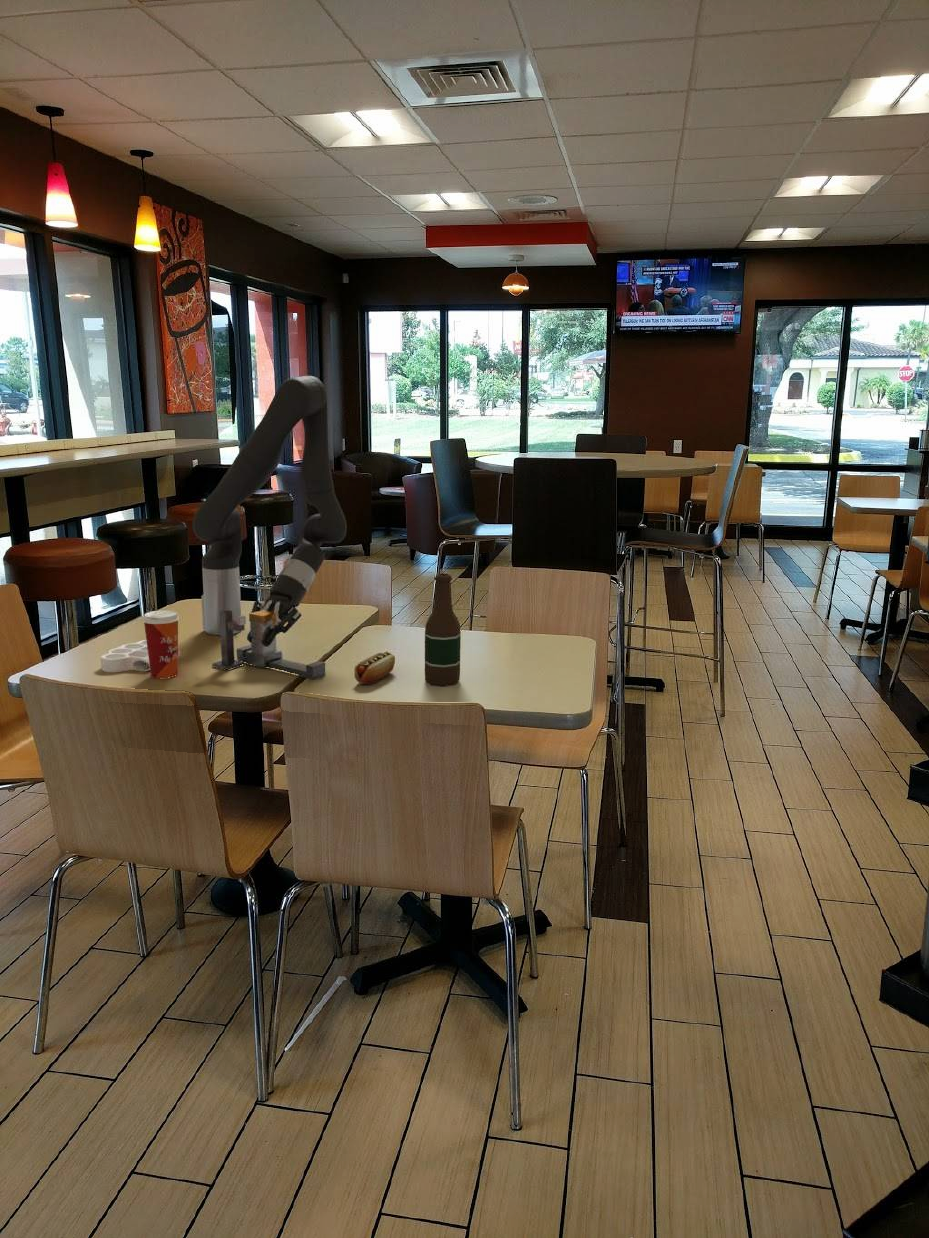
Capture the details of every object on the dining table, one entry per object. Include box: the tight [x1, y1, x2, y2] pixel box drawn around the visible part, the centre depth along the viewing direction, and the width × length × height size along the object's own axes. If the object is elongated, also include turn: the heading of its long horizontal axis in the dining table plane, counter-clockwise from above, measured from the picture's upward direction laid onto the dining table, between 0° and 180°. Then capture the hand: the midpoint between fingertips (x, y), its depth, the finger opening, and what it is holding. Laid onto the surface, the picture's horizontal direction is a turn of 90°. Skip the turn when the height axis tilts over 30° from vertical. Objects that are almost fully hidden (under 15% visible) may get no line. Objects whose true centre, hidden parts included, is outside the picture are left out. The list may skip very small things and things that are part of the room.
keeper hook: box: [211, 610, 247, 671], centre depth 208 cm, size 8×5×13 cm, turn 56°
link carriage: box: [245, 610, 283, 669], centre depth 211 cm, size 6×6×12 cm
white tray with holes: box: [100, 639, 181, 673], centre depth 213 cm, size 3×18×15 cm
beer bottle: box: [424, 573, 462, 688], centre depth 199 cm, size 8×8×24 cm
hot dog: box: [354, 651, 396, 685], centre depth 203 cm, size 5×13×5 cm, turn 156°
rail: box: [236, 644, 326, 681], centre depth 210 cm, size 24×4×3 cm, turn 56°
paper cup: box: [142, 610, 180, 680], centre depth 202 cm, size 8×8×14 cm
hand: (257, 642), depth 210 cm, fingers closed on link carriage, 4 cm apart
